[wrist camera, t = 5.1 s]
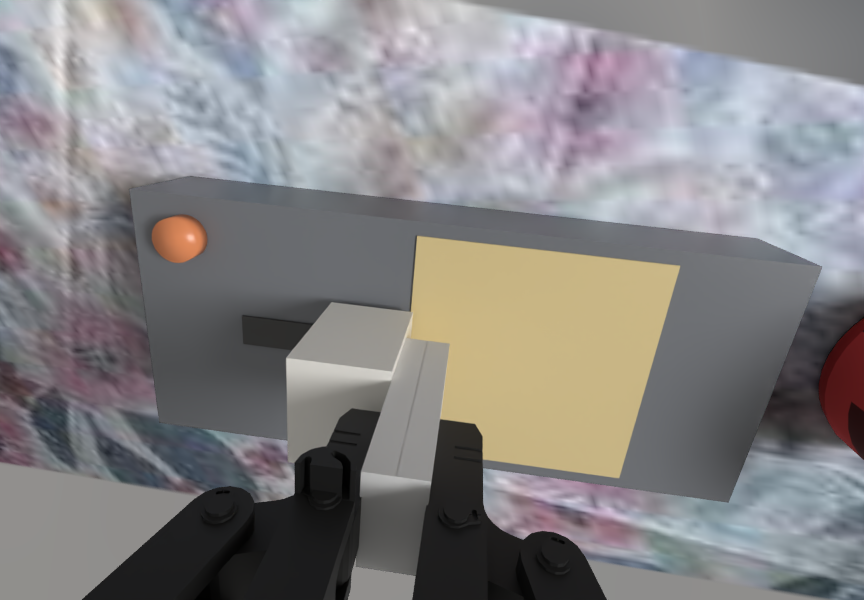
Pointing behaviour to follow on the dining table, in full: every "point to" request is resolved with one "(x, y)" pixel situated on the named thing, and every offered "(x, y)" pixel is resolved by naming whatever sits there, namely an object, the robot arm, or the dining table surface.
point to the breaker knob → (341, 370)
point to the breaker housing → (479, 323)
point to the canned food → (845, 388)
